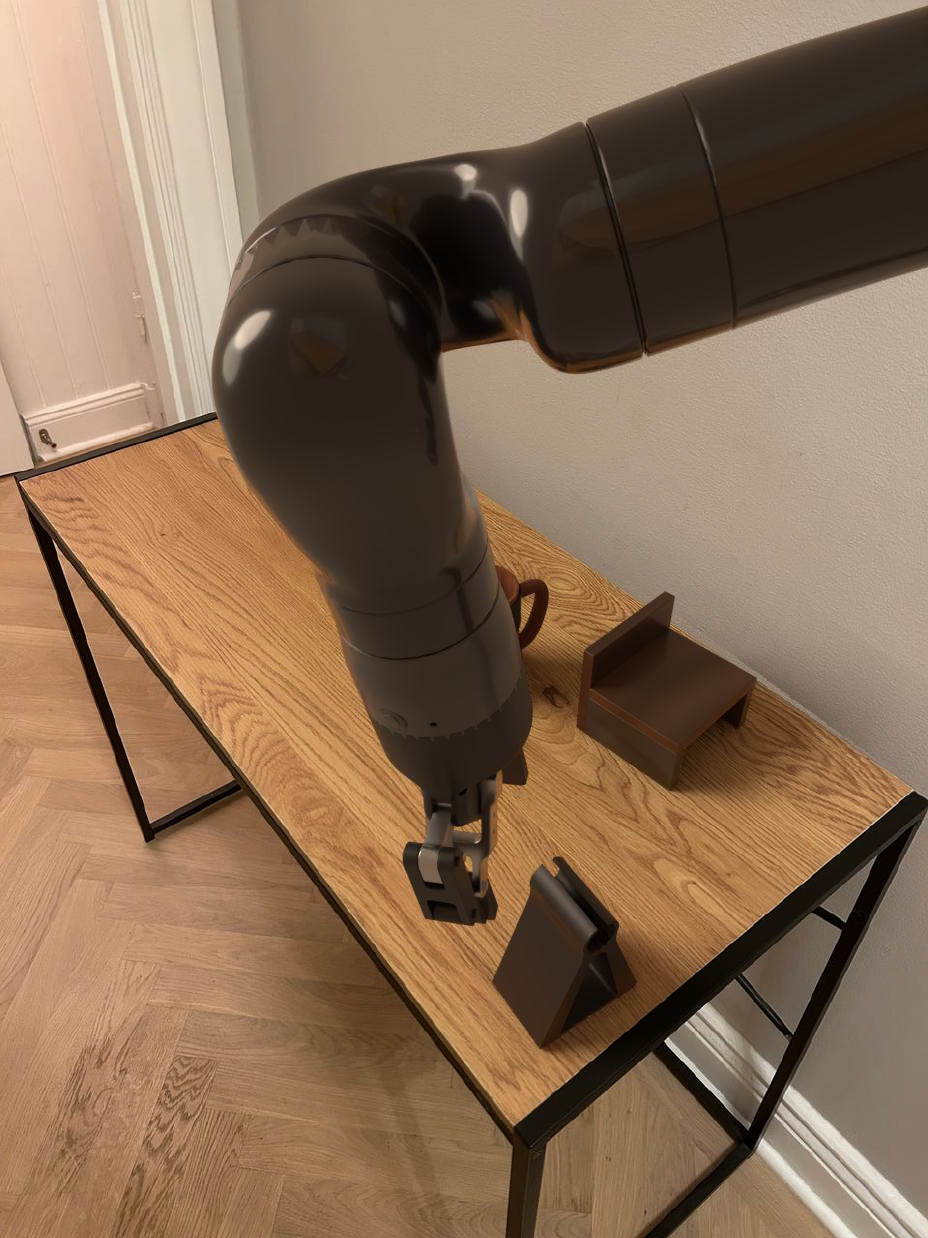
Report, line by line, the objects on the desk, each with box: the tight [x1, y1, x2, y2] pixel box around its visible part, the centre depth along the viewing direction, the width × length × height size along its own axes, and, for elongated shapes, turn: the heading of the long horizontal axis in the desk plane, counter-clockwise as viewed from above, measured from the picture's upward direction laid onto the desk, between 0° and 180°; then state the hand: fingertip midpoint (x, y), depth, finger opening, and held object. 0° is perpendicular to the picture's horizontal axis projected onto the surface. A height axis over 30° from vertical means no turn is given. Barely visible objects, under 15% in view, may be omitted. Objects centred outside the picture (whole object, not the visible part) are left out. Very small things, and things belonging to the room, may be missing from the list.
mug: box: [495, 564, 550, 660], centre depth 92 cm, size 9×12×12 cm
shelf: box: [575, 590, 758, 792], centre depth 87 cm, size 11×12×10 cm
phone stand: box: [491, 855, 638, 1050], centre depth 66 cm, size 9×6×12 cm, turn 122°
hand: (495, 842), depth 54 cm, fingers open, 8 cm apart
